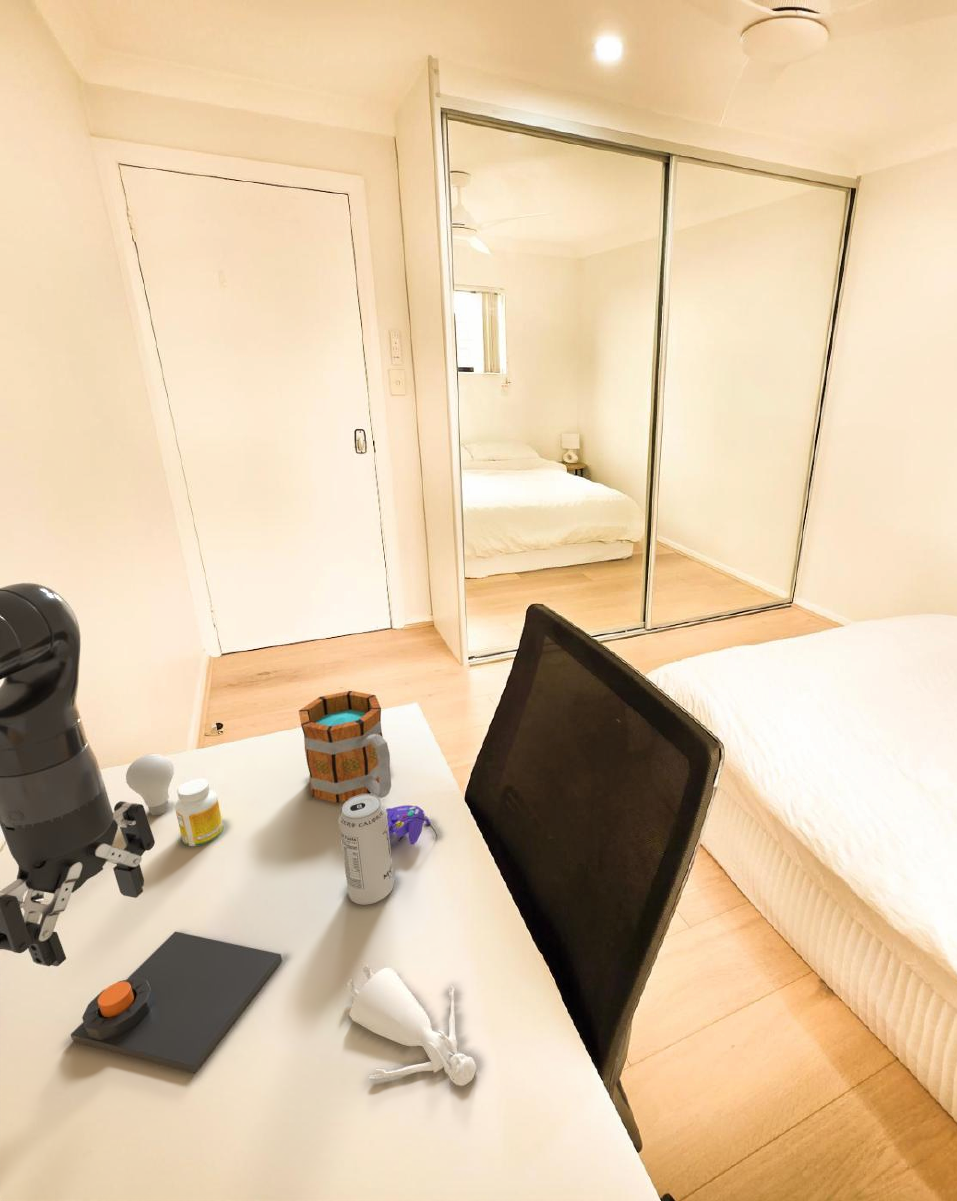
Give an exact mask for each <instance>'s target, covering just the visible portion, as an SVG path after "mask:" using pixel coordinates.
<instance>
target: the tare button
mask: <svg viewBox="0 0 957 1201" xmlns="http://www.w3.org/2000/svg"><path fill="white" fill-rule="evenodd" d="M117 982H118V983H117ZM117 982H115V983H112V984H111V985H109V986H108V987H106V988H105V989H103V990H104V991H103V990H102V991H103V992H102V991H101V992H102V993H101V992H100V993H101V994H100V993H99V994H100V996H99V998H98V1005H99V1008H100V1011H101V1014H102V1015H103V1016H104V1017H107V1018H110V1017H115V1016H117V1015H119V1014H121V1013H122V1012H124V1011H126V1010H127V1009H128V1008H129V1007H130V1006H131V1004H132V1003H133V1000H134V995H133V992H132V989H131V986H130V984H129V983H128V982H119V981H117Z"/></svg>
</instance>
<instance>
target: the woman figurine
mask: <svg viewBox="0 0 957 1201" xmlns="http://www.w3.org/2000/svg"><path fill="white" fill-rule="evenodd" d="M363 972H364V975H365V976H366V978H367V979H368V980H367V981H366V982H365V983H364V985H362V987H361V988H360V989H357V988H356V986H355V984H354V981H353V979H350V980H349V981H348V982H347V983H346V984H347V985H346V987H347V990H348V992H349V994H351V995H352V996H353V998H354V999H353V1001H352V1005H351V1007H350V1010H349V1012H348V1015H349V1017H350V1018H351V1020H352V1021H353V1022H355V1023H356V1024H358V1025H360V1026H362V1027H363V1028H365V1029H367V1030H369V1031H371V1033H374V1034H376V1035H379V1036H381V1037H383V1038H385V1039H388V1040H390V1041H392V1042H395V1043H397V1044H401V1045H403V1046H407V1047H422V1048H423V1049H424V1051H425V1052H426V1055H427V1057H428V1058H429V1061H427V1062H424V1063H423V1062H422V1063H418V1064H412V1065H408V1066H404V1067H402V1068H399V1069H395V1070H389V1071H387V1070H385V1069H383V1068H376V1071H378V1073H377V1074H370V1076H369V1079H372V1080H380V1079H383V1078H390V1077H395V1076H404V1075H406V1076H407V1075H412V1074H414V1073H422V1072H433V1074H435V1073H437V1072H439V1071H440V1070H442V1069H443V1070H444V1072H445V1074H447V1075H448V1077H449V1078H450V1081H452V1083H454V1084H455V1085H456V1086H461V1087H463V1086H466V1085H468V1084H469V1083H470V1082H471V1081H472V1080H473V1079H474V1076H475V1074H476V1072H477V1065H476V1063H475V1059H473V1057H472V1056H467V1055H465V1054H463V1053H461V1052H459V1051H458V1044H459V1041H457V1036H456V1018H455V989H454V985H452V986H451V989H448V993H449V994H448V995H449V998H450V1014H449V1019H448V1036H447V1035H446V1034H445V1032H444V1031H442V1030H439V1029H438V1030H437V1031H438V1032H437V1031H433V1027H432V1024H431V1023H432V1022H431V1019H430V1017H429V1016H428V1014H427V1012H426V1011H425V1009H424V1008H423V1007H422V1005H421V1004H420V1003H419V1001H418V1000H417V999H416V997H415V996H414V995H413V993H412V992H411V990H410V989H409V988H408V987H407V986H406V984H405V983H404V982H403V980H402V979H401V977H400V976H399V975H398V974H397V972H396V971H395V970H394V969H392V968H391V967H389V966H387V967H385V968H381V969H380V970H378V971H377V972H375V973H374V974H373V972H372V970H371V969H370V966H369V964H366V966H364V967H363Z"/></svg>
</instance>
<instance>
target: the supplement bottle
mask: <svg viewBox="0 0 957 1201" xmlns="http://www.w3.org/2000/svg"><path fill="white" fill-rule="evenodd" d="M176 793H177V797H178V800H177V802H176V803H175V807H174V808H175V814H176V818H177V823H178V827H179V832H180V835H181V840H182V842H183V844H184V845H186V846H189V847H196V846H202V845H205V844H207V843H208V844H209V843H210V842H212V841H215V839H217V838H218V837H220V836H221V834H222V833H223V831H224V824H223V819H222V814H221V813H222V812H221V809H220V804H219V799H218V795H217V793H216V792H215V791H214V790H212V789H211V785H210V782H209V781H208V780H207V779H205V778H194V779H191V780H188V781H186V782H184V783H183V784H181V785H180V786H179V787H178V788H177V792H176Z"/></svg>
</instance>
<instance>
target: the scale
mask: <svg viewBox="0 0 957 1201" xmlns="http://www.w3.org/2000/svg"><path fill="white" fill-rule="evenodd" d="M282 958H283V957H282V954H281V953H277V952H272V951H267V950H263V949H259V948H254V947H250V946H245V945H239V944H235V943H230V942H226V941H221V940H217V939H212V938H207V937H203V936H198V935H193V934H189V933H184V932H180V931H174V932H173V933H172V934H171V935H170V936H169V937H168V938H167V939H166V940H165V941H164V942H163V943H162V944H160V946H159V947H157V949H156V950H155V951H153V952H152V953H151V955H150V956H149V957H147V958H146V959H145V960H144V962H143V963H141V965H139V967H137V969H135V971H133V972H132V973H131V975H129V976H128V977H127V978H126V979H123V980H119V981H117V982H116V983H118V982H128V983H129V984H130V986H131V989H132V992H133V995H134V1000H133V1003H132V1004H131V1006H130V1007H129V1008H128V1009H127V1010H126V1011H124V1012H122V1013H121V1014H119V1015H117V1016H115V1017H110V1018H107V1017H104V1016H103V1015H102V1014H101V1011H100V1008H99V1005H98V998H99V996H100V994H101V993H102V992H103V991H104V990H105V989H103V990H102V991H100V992H99V994H97V995H96V996H95V997H94V998H93V999H92V1000H90V1002H89V1003H88V1005H87V1007H86V1008H85V1010H84V1013H83V1015H82V1016H81V1017H82V1018H81V1019H82V1021H83V1022H81V1024H80V1025H79V1026H77V1028H76V1029H74V1030H73V1031H72V1032H71V1033H70V1037H71V1040H72V1042H73V1043H75V1044H80V1045H84V1046H87V1047H90V1048H91V1047H92V1048H95V1049H99V1050H103V1051H106V1052H111V1053H114V1054H118V1055H122V1056H126V1057H129V1058H134V1059H137V1060H142V1061H145V1062H149V1063H153V1064H157V1065H159V1066H160V1065H161V1066H164V1067H168V1068H172V1069H176V1070H179V1071H180V1070H181V1071H183V1072H188V1073H190V1074H196V1073H198V1070H199V1069H200V1068H201V1067H202V1066H203V1064H204V1063H205V1061H206V1060H207V1059H208V1058H209V1056H210V1055H211V1054H212V1052H214V1050H215V1048H216V1047H217V1046H218V1045H219V1044H220V1042H221V1041H222V1040H223V1038H224V1037H225V1036H226V1035H227V1033H228V1032H229V1031H230V1029H231V1028H232V1027H233V1026H234V1024H235V1023H236V1021H237V1020H238V1019H239V1018H240V1016H241V1015H242V1014H243V1012H244V1011H245V1010H246V1009H247V1007H248V1006H249V1005H250V1003H251V1002H252V1001H253V999H254V998H255V997H256V996H257V994H258V993H259V992H260V991H261V989H262V988H263V986H264V985H265V984H266V983H267V982H268V980H269V979H270V977H271V976H272V975H273V973H274V972H275V971H276V970H277V968H278V967H279V966H280V964H281V963H282V962H283V959H282Z"/></svg>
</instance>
